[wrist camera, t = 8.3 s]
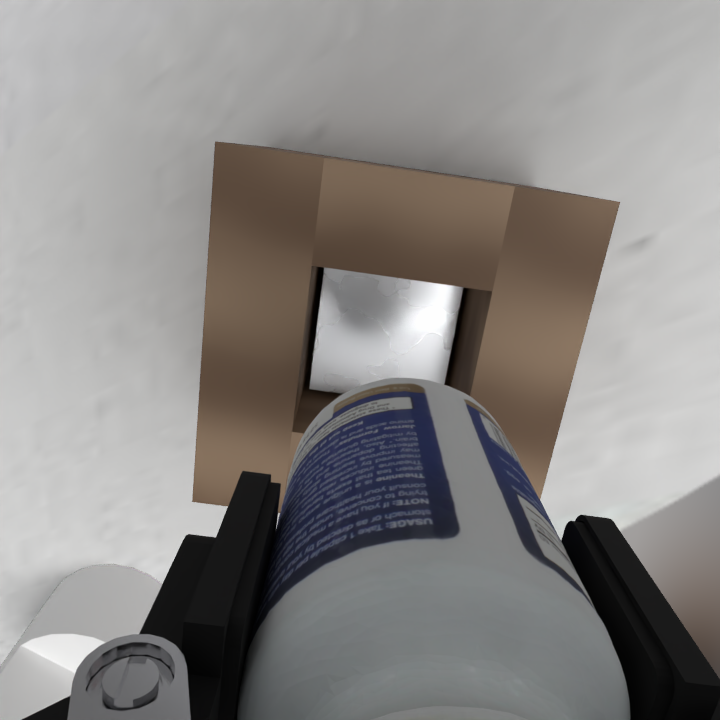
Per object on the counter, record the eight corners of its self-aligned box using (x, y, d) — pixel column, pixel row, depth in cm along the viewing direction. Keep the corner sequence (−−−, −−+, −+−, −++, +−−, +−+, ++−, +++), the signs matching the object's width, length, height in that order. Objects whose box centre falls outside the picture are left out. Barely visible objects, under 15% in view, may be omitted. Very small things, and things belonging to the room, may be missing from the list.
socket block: (265, 146, 31) (215, 141, 21) (535, 187, 32) (619, 202, 21) (243, 400, 35) (192, 501, 25) (480, 431, 36) (527, 544, 26)
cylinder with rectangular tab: (25, 633, 41) (-106, 817, 30) (87, 540, 39) (-28, 700, 27) (143, 694, 42) (63, 891, 31) (210, 608, 40) (149, 787, 29)
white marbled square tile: (326, 254, 27) (325, 257, 26) (461, 273, 27) (465, 277, 26) (311, 381, 29) (309, 388, 28) (437, 398, 29) (439, 406, 28)
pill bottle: (270, 540, 16) (132, 1104, 6) (321, 346, 14) (232, 724, 5) (473, 587, 16) (620, 1182, 7) (545, 403, 14) (872, 856, 5)
